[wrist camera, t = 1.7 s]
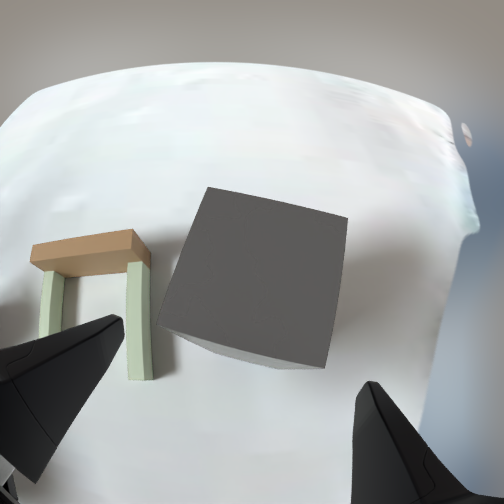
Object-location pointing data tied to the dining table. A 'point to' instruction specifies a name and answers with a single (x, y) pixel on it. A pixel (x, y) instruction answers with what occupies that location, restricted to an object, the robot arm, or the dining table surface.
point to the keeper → (98, 263)
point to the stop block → (258, 281)
